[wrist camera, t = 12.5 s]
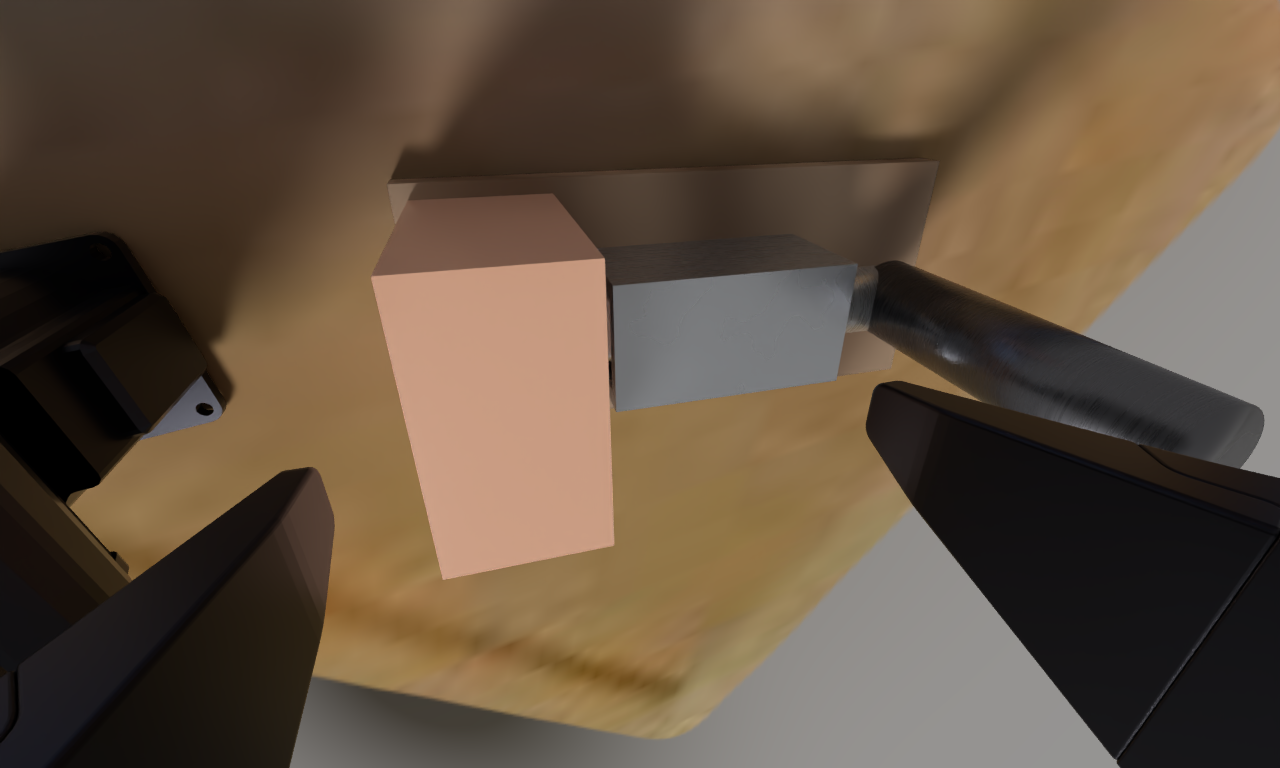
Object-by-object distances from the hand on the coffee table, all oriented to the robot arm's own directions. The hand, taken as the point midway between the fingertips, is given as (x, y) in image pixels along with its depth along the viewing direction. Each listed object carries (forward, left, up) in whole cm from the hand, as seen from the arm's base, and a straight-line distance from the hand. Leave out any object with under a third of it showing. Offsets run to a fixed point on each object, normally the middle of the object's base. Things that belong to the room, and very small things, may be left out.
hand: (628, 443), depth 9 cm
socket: (-2, -2, -12) cm, 12 cm away
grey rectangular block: (+5, -3, -12) cm, 13 cm away
